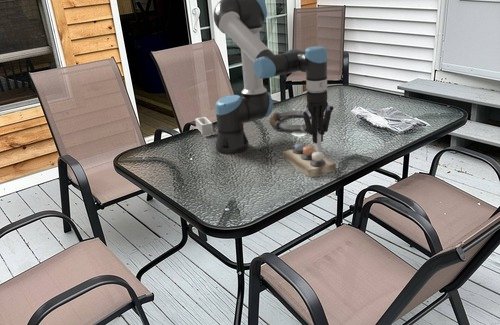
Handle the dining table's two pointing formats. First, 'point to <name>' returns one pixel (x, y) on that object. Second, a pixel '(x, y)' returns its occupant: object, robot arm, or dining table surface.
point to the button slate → (299, 146)
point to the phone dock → (204, 126)
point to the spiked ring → (279, 125)
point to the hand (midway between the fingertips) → (317, 150)
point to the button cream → (317, 156)
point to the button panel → (309, 163)
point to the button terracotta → (308, 150)
